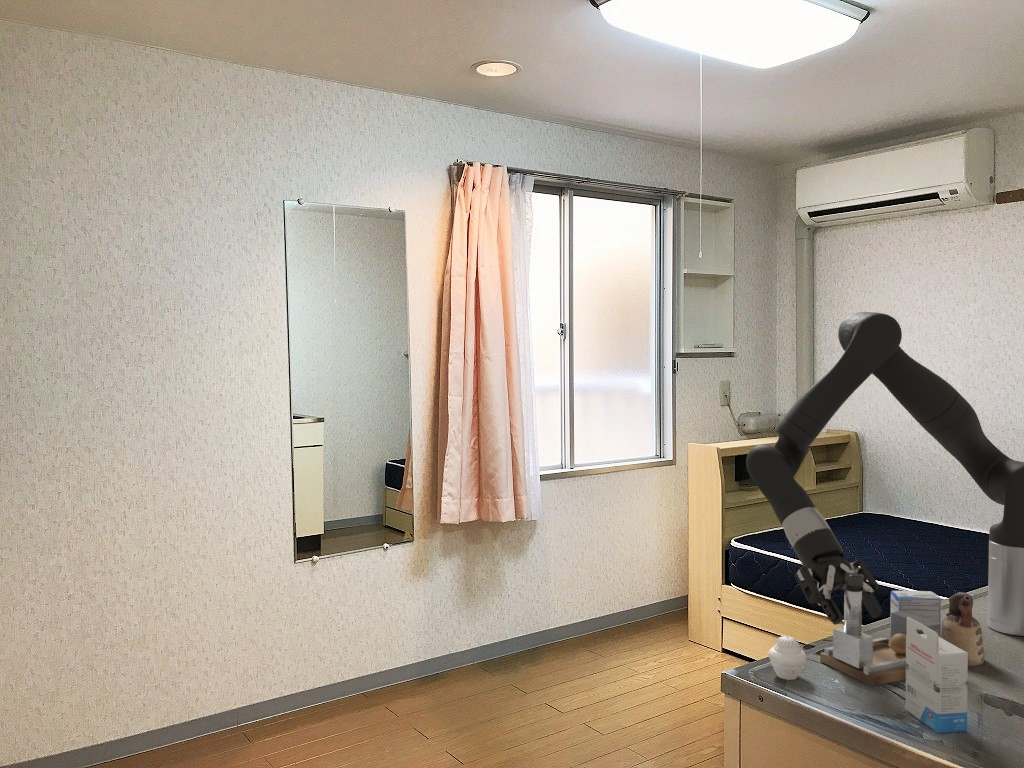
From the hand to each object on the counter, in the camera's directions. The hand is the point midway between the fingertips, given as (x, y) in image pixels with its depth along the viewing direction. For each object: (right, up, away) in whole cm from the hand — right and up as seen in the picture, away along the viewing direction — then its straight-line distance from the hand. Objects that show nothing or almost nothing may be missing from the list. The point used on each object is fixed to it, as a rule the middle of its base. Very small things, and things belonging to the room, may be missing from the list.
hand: (858, 619), depth 141 cm
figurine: (+21, -9, +7) cm, 25 cm away
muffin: (-12, -10, 0) cm, 16 cm away
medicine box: (+18, -9, +18) cm, 27 cm away
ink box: (+4, -11, -17) cm, 20 cm away
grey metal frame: (+6, -8, +4) cm, 11 cm away
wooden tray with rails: (+6, -9, +4) cm, 12 cm away
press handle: (0, -8, +2) cm, 8 cm away
